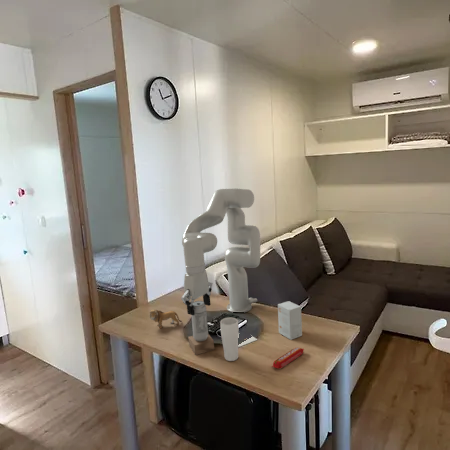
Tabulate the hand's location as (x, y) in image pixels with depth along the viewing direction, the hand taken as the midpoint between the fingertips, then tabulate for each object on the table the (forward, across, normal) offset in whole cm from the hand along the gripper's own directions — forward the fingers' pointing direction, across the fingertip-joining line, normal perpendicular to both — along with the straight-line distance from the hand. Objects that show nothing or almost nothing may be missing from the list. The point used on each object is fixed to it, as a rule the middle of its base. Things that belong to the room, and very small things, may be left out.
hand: (199, 309), depth 145 cm
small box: (+17, -27, +26) cm, 41 cm away
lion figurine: (+17, -5, -27) cm, 33 cm away
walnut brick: (+16, +1, 0) cm, 16 cm away
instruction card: (+16, -12, +10) cm, 22 cm away
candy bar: (+17, -8, +34) cm, 39 cm away
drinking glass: (+16, +1, +15) cm, 22 cm away
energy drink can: (+12, +1, 0) cm, 12 cm away
